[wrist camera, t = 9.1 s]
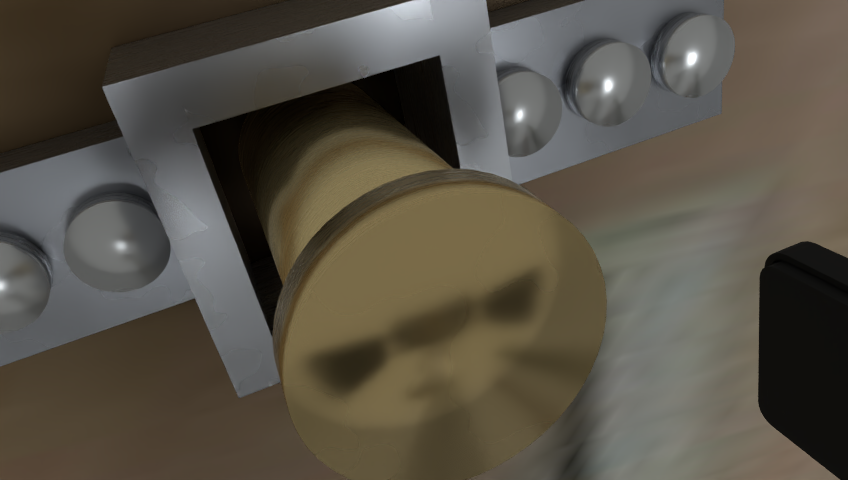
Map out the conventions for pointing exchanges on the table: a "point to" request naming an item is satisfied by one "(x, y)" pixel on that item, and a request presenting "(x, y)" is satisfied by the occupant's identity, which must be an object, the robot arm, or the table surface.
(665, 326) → the table surface
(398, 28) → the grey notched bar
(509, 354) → the pin
